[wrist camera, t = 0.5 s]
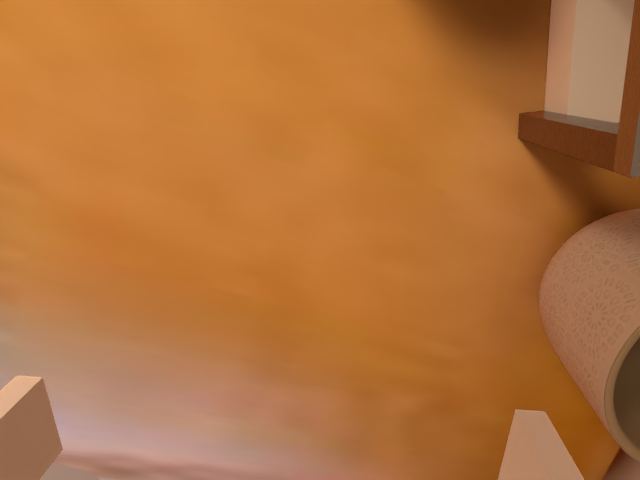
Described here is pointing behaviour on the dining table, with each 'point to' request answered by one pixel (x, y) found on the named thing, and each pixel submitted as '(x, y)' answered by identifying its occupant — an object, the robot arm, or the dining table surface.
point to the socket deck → (588, 57)
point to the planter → (599, 319)
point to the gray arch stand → (597, 123)
